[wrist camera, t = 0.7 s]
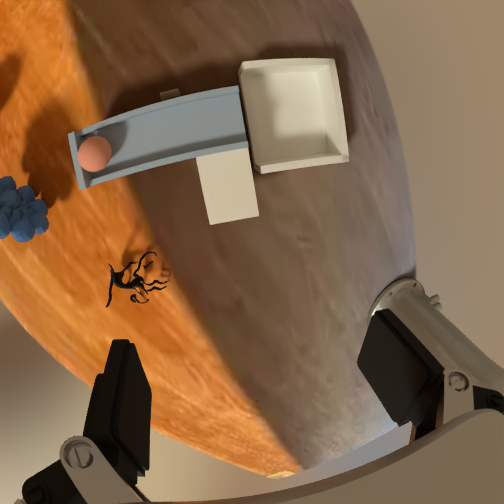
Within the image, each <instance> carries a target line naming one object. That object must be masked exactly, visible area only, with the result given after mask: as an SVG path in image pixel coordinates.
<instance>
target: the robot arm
mask: <svg viewBox="0 0 504 504" xmlns="http://www.w3.org/2000/svg"><path fill="white" fill-rule="evenodd" d="M437 301H439V296H438V295H437V294H436V295H434V296H432V297H428V296H426V294H425V292H424V288H423V286H422V285H421V283H420V282H418V281H417V280H415V279H413V278H404V279H401V280H398V281H396V282H394V283H393V284H391V285H390V286H389V287H387V288H386V289H385V290H384V291H383V292H382V293H381V294H380V295H379V297H378V298H377V299H376V301H375V302H374V304H373V306H372V308H371V311H370V313H369V318H368V330H367V333H366V336H365V339H364V342H363V345H362V348H361V351H360V354H359V356H358V360H357V364H358V367H359V369H360V370H361V372H362V373H363V375H364V376H365V378H366V379H367V381H368V382H369V384H370V386H371V387H372V389H373V390H374V392H375V393H376V395H377V397H378V398H379V400H380V401H381V403H382V404H383V406H384V408H385V409H386V411H387V412H388V414H389V416H390V417H391V419H392V420H393V421H394V422H397V424H398V425H399V427H400V426H402V425H404V424H406V423H408V422H409V421H411V422H412V430H411V436H410V441H409V444H408V445H406V446H404V447H403V448H400V449H398V450H396V451H394V452H392V453H390V454H388V455H386V456H384V457H381V458H379V459H377V460H375V461H372V462H370V463H367V464H365V465H363V466H360V467H358V468H355V469H352V470H350V471H347V472H344V473H341V474H339V475H336V476H332V477H329V478H326V479H323V480H320V481H316V482H313V483H309V484H305V485H302V486H298V487H294V488H289V489H285V490H281V491H276V492H271V493H265V494H260V495H253V496H247V497H239V498H231V499H221V500H209V501H189V502H151V501H150V500H149V499H148V498H147V497H146V496H145V495H144V493H143V492H141V490H140V489H139V488H138V487H137V486H136V484H137V476H143V477H145V470H149V456H150V455H149V454H150V453H149V452H150V419H151V401H152V393H151V388H150V385H149V383H148V380H147V378H146V375H145V372H144V370H143V367H142V364H141V361H140V359H139V356H138V353H137V350H136V347H135V344H134V343H130V342H129V340H128V339H114V340H113V341H112V344H111V347H110V351H109V354H108V358H107V362H106V366H105V369H104V373H103V374H98V375H97V376H96V379H95V382H94V386H93V390H92V394H91V398H90V403H89V407H88V411H87V416H86V421H85V426H84V431H83V436H73V437H71V438H69V439H67V440H66V441H64V443H63V444H62V446H61V448H60V459H59V460H58V461H57V462H55V463H53V464H51V465H50V466H48V467H47V468H45V469H43V470H42V471H40V472H38V473H37V474H35V475H34V476H32V477H30V478H29V479H27V480H26V481H25V482H24V484H23V487H22V495H23V498H22V500H20V499H18V500H17V501H16V502H15V503H14V504H504V369H503V368H501V367H500V366H499V365H497V364H496V363H495V362H493V361H492V360H491V359H490V358H489V357H487V356H486V355H485V354H484V353H483V352H482V351H481V350H480V349H479V348H478V347H477V346H476V345H475V344H474V343H472V341H471V340H470V339H468V338H467V337H466V336H465V335H464V334H463V333H462V332H461V331H460V330H459V329H458V328H457V327H456V326H455V325H454V324H453V323H452V322H450V321H449V320H448V319H447V318H446V317H445V316H444V315H443V314H442V313H441V312H440V311H441V310H442V306H441V304H440V303H439V302H437ZM435 302H437V303H435ZM433 303H434V304H433Z"/></svg>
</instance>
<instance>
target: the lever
mask: <svg viewBox="0 0 504 504" xmlns="http://www.w3.org/2000/svg"><path fill="white" fill-rule="evenodd" d="M93 136H100V137H103V138H105V139H106V140H107V141H108V142H109V144H110V146H111V149H112V155H111V159H110V161H109V163H108V164H107V165H106V166H105V167H104V168H103V169H101V170H99V171H96V172H90V171H87V170H85V169H84V168H82V167H81V165H80V163H79V161H78V151H79V148H80V146H81V144H82V143H83V142H84V141H85V140H86V139H88V138H90V137H93ZM68 139H69V144H70V149H71V154H72V159H73V164H74V168H75V173H76V177H77V181H78V185H79V189H80V190H83V189H85V188H88V187H90V186H93V185H96V184H99V183H102V182H105V181H108V180H112V179H115V178H118V177H121V176H125V175H128V174H132V173H135V172H139V171H142V170H146V169H150V168H153V167H157V166H161V165H165V164H169V163H173V162H178V161H183V160H187V159H191V158H195V157H196V160H197V165H198V170H199V175H200V180H201V185H202V190H203V195H204V199H205V204H206V209H207V213H208V218H209V223H210V225H212V224H218V223H223V222H228V221H234V220H239V219H245V218H250V217H256V216H259V213H258V206H257V200H256V194H255V188H254V181H253V175H252V169H251V163H250V157H249V151H248V147H249V146H248V141H247V139H246V133H245V127H244V122H243V116H242V110H241V104H240V98H239V88H238V86H231V87H225V88H219V89H214V90H209V91H204V92H199V93H194V94H190V95H185V96H181V97H177V98H173V99H169V100H165V101H162V102H158V103H155V104H151V105H148V106H144V107H141V108H138V109H135V110H132V111H129V112H126V113H123V114H120V115H117V116H114V117H112V118H109V119H106V120H104V121H101V122H98V123H96V124H93V125H91V126H88V127H86V128H84V129H81V130H79V131H73V132H71V133H69V134H68Z"/></svg>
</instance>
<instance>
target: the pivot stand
mask: <svg viewBox="0 0 504 504" xmlns="http://www.w3.org/2000/svg"><path fill="white" fill-rule="evenodd" d="M181 96H182V95H181V93H180V91H179V89H178V88H177V89H173V90H169V91H165V92H161V93H160V97H161V101H165V100H169V99H173V98H177V97H181ZM191 159H193V158H191ZM187 160H189V159H187ZM183 161H184V160H183ZM178 162H180V161H178ZM173 163H176V162H173Z"/></svg>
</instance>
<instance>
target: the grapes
mask: <svg viewBox="0 0 504 504" xmlns="http://www.w3.org/2000/svg"><path fill="white" fill-rule="evenodd" d="M47 214H48V208H47V205H46V204H45V202H44V201H43V199H36V200H35V193H34V191H33V189H32V187H31V186H22V187H19V188H18V189H16V183H15V181H14V180H13V178H12V177H11V176H6V177H3V178H0V239H3V238H5V237H6V236H8V235H9V233H10V232H11V233H12V235H13V237H14V238H15V240H16V241H18V242H27V241H29V240H31V239H32V238H33V236H34V234H42V233H44V232H46V230H47V229H48V225H49V222H48V220H47V217H46V215H47Z"/></svg>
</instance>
